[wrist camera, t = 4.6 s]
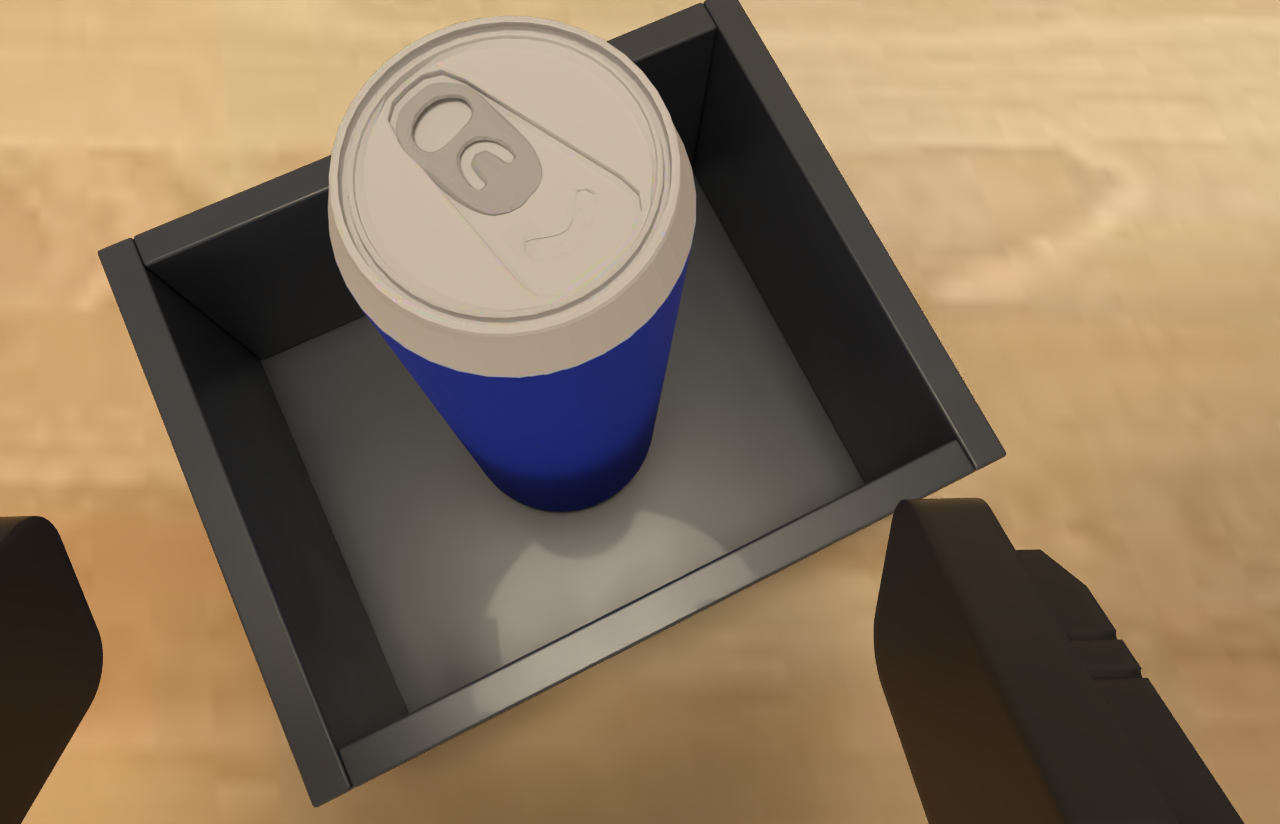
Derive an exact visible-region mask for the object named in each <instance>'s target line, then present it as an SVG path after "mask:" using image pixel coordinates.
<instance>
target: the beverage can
mask: <svg viewBox="0 0 1280 824" xmlns="http://www.w3.org/2000/svg"><path fill="white" fill-rule="evenodd" d="M328 219H329V235H330V239H331V243H332V247H333V252H334V256H335V260H336V263H337V265H338V267H339V270H340V272H341V274H342V277H343V279H344V281H345V284H346V286H347V288H348V289H349V291H350V292H351V294H352V295H353V297H354V298H355V300H356V301H357V303H358V304H359V306H360V307H361V309H362V310H363V312H364V313H365V314H366V316H367V317H368V318H369V320H370V321H371V322H372V324H373V325H374V326H375V328H376V329H377V330H378V332H379V333H380V334H381V336H382V337H383V338H384V340H385V341H386V342H387V344H388V345H389V346H390V348H391V349H392V350H393V352H394V353H395V354H396V356H397V357H398V358H399V360H400V361H401V362H402V364H403V365H404V366H405V368H406V369H407V370H408V372H409V373H410V374H411V376H412V377H413V378H414V380H415V381H416V382H417V384H418V385H419V386H420V388H421V389H422V390H423V392H424V393H425V394H426V396H427V397H428V398H429V400H430V401H431V402H432V404H433V405H434V406H435V408H436V409H437V410H438V412H439V413H440V414H441V416H442V417H443V418H444V420H445V421H446V422H447V424H448V425H449V426H450V428H451V429H452V430H453V432H454V433H455V434H456V436H457V437H458V438H459V440H460V441H461V442H462V444H463V445H464V446H465V448H466V449H467V450H468V452H469V453H470V454H471V456H472V457H473V458H474V460H475V461H476V462H477V464H478V465H479V466H480V468H481V469H482V470H483V472H484V473H485V474H486V476H487V477H488V478H489V479H490V480H491V481H492V482H493V483H494V485H495V486H496V487H497V488H498V489H500V490H501V491H502V492H504V493H505V494H506V495H507V496H509V497H511V498H512V499H514V500H516V501H518V502H520V503H521V504H524V505H527V506H530V507H533V508H535V509H540V510H546V511H557V512H567V511H575V510H581V509H584V508H588V507H591V506H594V505H596V504H599V503H601V502H603V501H605V500H607V499H609V498H610V497H612V496H613V495H615V494H616V493H618V492H619V491H620V490H621V489H622V488H623V487H625V486H626V485H627V484H628V483H629V482H630V481H631V480H632V478H633V477H634V476H635V474H636V473H637V472H638V470H639V469H640V467H641V465H642V464H643V462H644V460H645V458H646V456H647V453H648V450H649V447H650V445H651V441H652V436H653V431H654V426H655V421H656V416H657V411H658V406H659V402H660V397H661V392H662V387H663V382H664V377H665V372H666V368H667V363H668V358H669V353H670V348H671V343H672V338H673V334H674V329H675V324H676V319H677V314H678V309H679V304H680V299H681V295H682V290H683V285H684V280H685V275H686V270H687V265H688V261H689V256H690V251H691V246H692V240H693V235H694V229H695V224H696V190H695V184H694V178H693V172H692V167H691V164H690V162H689V159H688V156H687V153H686V150H685V147H684V144H683V142H682V140H681V138H680V136H679V134H678V132H677V130H676V128H675V126H674V124H673V122H672V119H671V116H670V114H669V112H668V110H667V108H666V106H665V104H664V102H663V101H662V99H661V97H660V95H659V93H658V91H657V90H656V88H655V87H654V86H653V84H652V83H651V82H650V81H649V79H648V78H647V77H646V75H645V74H644V73H643V71H642V70H641V69H640V68H638V67H637V66H636V65H635V64H634V63H633V62H632V61H631V60H630V59H629V58H628V57H627V56H626V55H625V54H623V53H622V52H621V51H619V50H618V49H616V48H615V47H613V46H612V45H610V44H609V43H607V42H606V41H605V40H603V39H601V38H599V37H597V36H595V35H593V34H591V33H589V32H587V31H584V30H582V29H580V28H577V27H574V26H571V25H568V24H565V23H561V22H558V21H554V20H548V19H543V18H537V17H531V16H496V17H486V18H477V19H473V20H469V21H465V22H461V23H457V24H453V25H450V26H448V27H445V28H443V29H440V30H437V31H435V32H432V33H430V34H427V35H426V36H424V37H422V38H420V39H419V40H417V41H415V42H413V43H412V44H410V45H408V46H406V47H405V48H403V49H402V50H401V51H399V52H398V53H397V54H395V55H394V56H393V57H392V58H390V59H389V60H388V61H386V62H385V63H384V64H383V65H382V66H381V67H380V68H379V69H378V70H377V71H376V72H375V73H374V74H373V75H372V76H371V77H370V78H369V79H368V80H367V81H366V83H365V84H364V85H363V87H362V88H361V90H360V91H359V93H358V94H357V95H356V97H355V98H354V100H353V101H352V102H351V104H350V106H349V108H348V110H347V112H346V114H345V116H344V118H343V120H342V122H341V124H340V126H339V129H338V132H337V136H336V139H335V142H334V146H333V149H332V153H331V161H330V170H329V196H328Z"/></svg>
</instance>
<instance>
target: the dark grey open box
mask: <svg viewBox="0 0 1280 824" xmlns="http://www.w3.org/2000/svg"><path fill="white" fill-rule="evenodd" d="M607 43H609V44H610V45H612V46H613V47H615V48H616V49H618V50H619V51H621V52H622V53H623V54H625V55H626V56H627V57H628V58H629V59H630V60H631V61H632V62H633V63H634V64H635V65H636V66H637V67H638V68H640V69H641V70H642V71H643V73H644V74H645V75H646V77H647V78H648V79H649V81H650V82H651V83H652V84H653V86H654V87H655V88H656V90H657V91H658V93H659V95H660V97H661V99H662V101H663V102H664V104H665V106H666V108H667V110H668V112H669V114H670V116H671V119H672V122H673V124H674V126H675V128H676V130H677V132H678V134H679V136H680V138H681V140H682V142H683V144H684V147H685V150H686V153H687V156H688V159H689V162H690V164H691V167H692V172H693V178H694V184H695V190H696V224H695V229H694V235H693V240H692V246H691V251H690V256H689V261H688V265H687V270H686V275H685V280H684V285H683V290H682V295H681V299H680V304H679V309H678V314H677V319H676V324H675V329H674V334H673V338H672V343H671V348H670V353H669V358H668V363H667V368H666V372H665V377H664V382H663V387H662V392H661V397H660V402H659V406H658V411H657V416H656V421H655V426H654V431H653V436H652V441H651V445H650V447H649V450H648V453H647V456H646V458H645V460H644V462H643V464H642V465H641V467H640V469H639V470H638V472H637V473H636V474H635V476H634V477H633V478H632V480H631V481H630V482H629V483H628V484H627V485H626V486H625V487H623V488H622V489H621V490H620V491H619V492H618V493H616V494H615V495H613V496H612V497H610V498H609V499H607V500H605V501H603V502H601V503H599V504H596V505H594V506H591V507H588V508H584V509H581V510H575V511H567V512H557V511H546V510H540V509H535V508H533V507H530V506H527V505H524V504H521V503H520V502H518V501H516V500H514V499H512V498H511V497H509V496H507V495H506V494H505V493H504V492H502V491H501V490H500V489H498V488H497V487H496V486H495V485H494V483H493V482H492V481H491V480H490V479H489V478H488V477H487V476H486V474H485V473H484V472H483V470H482V469H481V468H480V466H479V465H478V464H477V462H476V461H475V460H474V458H473V457H472V456H471V454H470V453H469V452H468V450H467V449H466V448H465V446H464V445H463V444H462V442H461V441H460V440H459V438H458V437H457V436H456V434H455V433H454V432H453V430H452V429H451V428H450V426H449V425H448V424H447V422H446V421H445V420H444V418H443V417H442V416H441V414H440V413H439V412H438V410H437V409H436V408H435V406H434V405H433V404H432V402H431V401H430V400H429V398H428V397H427V396H426V394H425V393H424V392H423V390H422V389H421V388H420V386H419V385H418V384H417V382H416V381H415V380H414V378H413V377H412V376H411V374H410V373H409V372H408V370H407V369H406V368H405V366H404V365H403V364H402V362H401V361H400V360H399V358H398V357H397V356H396V354H395V353H394V352H393V350H392V349H391V348H390V346H389V345H388V344H387V342H386V341H385V340H384V338H383V337H382V336H381V334H380V333H379V332H378V330H377V329H376V328H375V326H374V325H373V324H372V322H371V321H370V320H369V318H368V317H367V316H366V314H365V313H364V312H363V310H362V309H361V307H360V306H359V304H358V303H357V301H356V300H355V298H354V297H353V295H352V294H351V292H350V291H349V289H348V288H347V286H346V284H345V281H344V279H343V277H342V274H341V272H340V270H339V267H338V265H337V263H336V260H335V256H334V252H333V247H332V243H331V239H330V235H329V219H328V196H329V170H330V161H331V155H330V156H328V157H325V158H323V159H320V160H318V161H315V162H313V163H311V164H308V165H306V166H303V167H301V168H298V169H296V170H294V171H291V172H289V173H286V174H284V175H281V176H279V177H277V178H274V179H272V180H269V181H267V182H264V183H262V184H260V185H257V186H255V187H252V188H250V189H248V190H245V191H243V192H240V193H238V194H235V195H233V196H231V197H228V198H226V199H223V200H221V201H218V202H216V203H214V204H211V205H209V206H206V207H204V208H201V209H199V210H197V211H194V212H192V213H189V214H187V215H184V216H182V217H180V218H177V219H175V220H172V221H170V222H167V223H165V224H163V225H160V226H158V227H155V228H153V229H150V230H148V231H146V232H143V233H141V234H138V235H136V236H135V237H134V239H133V238H128V239H126V240H123V241H121V242H118V243H116V244H113V245H111V246H109V247H106V248H104V249H101V250H99V251H98V256H99V258H100V261H101V263H102V266H103V268H104V271H105V274H106V276H107V279H108V281H109V284H110V286H111V289H112V292H113V294H114V297H115V299H116V302H117V304H118V307H119V309H120V312H121V315H122V317H123V320H124V322H125V325H126V327H127V330H128V333H129V335H130V338H131V340H132V343H133V345H134V348H135V351H136V353H137V356H138V358H139V361H140V363H141V366H142V368H143V371H144V374H145V376H146V379H147V381H148V384H149V386H150V389H151V392H152V394H153V397H154V399H155V402H156V404H157V407H158V410H159V412H160V415H161V417H162V420H163V422H164V425H165V428H166V430H167V433H168V435H169V438H170V440H171V443H172V445H173V448H174V451H175V453H176V456H177V458H178V461H179V463H180V466H181V469H182V471H183V474H184V476H185V479H186V481H187V484H188V487H189V489H190V492H191V494H192V497H193V499H194V502H195V505H196V507H197V510H198V512H199V515H200V517H201V520H202V522H203V525H204V528H205V530H206V533H207V535H208V538H209V540H210V543H211V546H212V548H213V551H214V553H215V556H216V558H217V561H218V564H219V566H220V569H221V571H222V574H223V576H224V579H225V582H226V584H227V587H228V589H229V592H230V594H231V597H232V599H233V602H234V605H235V607H236V610H237V612H238V615H239V617H240V620H241V623H242V625H243V628H244V630H245V633H246V635H247V638H248V641H249V643H250V646H251V648H252V651H253V653H254V656H255V659H256V661H257V664H258V666H259V669H260V671H261V674H262V676H263V679H264V682H265V684H266V687H267V689H268V692H269V694H270V697H271V700H272V702H273V705H274V707H275V710H276V712H277V715H278V718H279V720H280V723H281V725H282V728H283V730H284V733H285V736H286V738H287V741H288V743H289V746H290V748H291V751H292V753H293V756H294V759H295V761H296V764H297V766H298V769H299V771H300V774H301V777H302V779H303V782H304V784H305V787H306V789H307V792H308V795H309V797H310V800H311V802H312V805H313V806H314V807H319V806H321V805H323V804H325V803H327V802H329V801H331V800H333V799H335V798H337V797H339V796H341V795H343V794H345V793H347V792H348V791H350V790H352V789H354V788H356V787H358V786H360V785H362V784H364V783H366V782H368V781H370V780H372V779H374V778H376V777H378V776H380V775H382V774H384V773H386V772H388V771H390V770H392V769H394V768H396V767H397V766H399V765H401V764H403V763H405V762H407V761H409V760H411V759H413V758H415V757H417V756H419V755H421V754H423V753H425V752H427V751H429V750H431V749H433V748H435V747H437V746H439V745H441V744H443V743H444V742H446V741H448V740H450V739H452V738H454V737H456V736H458V735H460V734H462V733H464V732H466V731H468V730H470V729H472V728H474V727H476V726H478V725H480V724H482V723H484V722H486V721H488V720H490V719H491V718H493V717H495V716H497V715H499V714H501V713H503V712H505V711H507V710H509V709H511V708H513V707H515V706H517V705H519V704H521V703H523V702H525V701H527V700H529V699H531V698H533V697H535V696H537V695H538V694H540V693H542V692H544V691H546V690H548V689H550V688H552V687H554V686H556V685H558V684H560V683H562V682H564V681H566V680H568V679H570V678H572V677H574V676H576V675H578V674H580V673H582V672H584V671H586V670H587V669H589V668H591V667H593V666H595V665H597V664H599V663H601V662H603V661H605V660H607V659H609V658H611V657H613V656H615V655H617V654H619V653H621V652H623V651H625V650H627V649H629V648H631V647H633V646H634V645H636V644H638V643H640V642H642V641H644V640H646V639H648V638H650V637H652V636H654V635H656V634H658V633H660V632H662V631H664V630H666V629H668V628H670V627H672V626H674V625H676V624H678V623H680V622H681V621H683V620H685V619H687V618H689V617H691V616H693V615H695V614H697V613H699V612H701V611H703V610H705V609H707V608H709V607H711V606H713V605H715V604H717V603H719V602H721V601H723V600H725V599H727V598H728V597H730V596H732V595H734V594H736V593H738V592H740V591H742V590H744V589H746V588H748V587H750V586H752V585H754V584H756V583H758V582H760V581H762V580H764V579H766V578H768V577H770V576H772V575H774V574H776V573H777V572H779V571H781V570H783V569H785V568H787V567H789V566H791V565H793V564H795V563H797V562H799V561H801V560H803V559H805V558H807V557H809V556H811V555H813V554H815V553H817V552H819V551H821V550H823V549H824V548H826V547H828V546H830V545H832V544H834V543H836V542H838V541H840V540H842V539H844V538H846V537H848V536H850V535H852V534H854V533H856V532H858V531H860V530H862V529H864V528H866V527H868V526H870V525H871V524H873V523H875V522H877V521H879V520H881V519H883V518H885V517H887V516H889V515H891V514H893V513H894V511H895V508H896V506H897V504H898V503H899V502H900V501H901V500H903V499H922V498H924V497H926V496H928V495H930V494H932V493H934V492H936V491H938V490H940V489H942V488H944V487H946V486H948V485H950V484H952V483H954V482H956V481H958V480H960V479H962V478H964V477H966V476H967V475H969V474H971V473H973V472H975V471H977V470H979V469H981V468H983V467H985V466H987V465H989V464H991V463H993V462H995V461H997V460H999V459H1001V458H1003V457H1005V455H1006V452H1005V450H1004V448H1003V447H1002V445H1001V443H1000V441H999V440H998V438H997V436H996V435H995V433H994V431H993V430H992V428H991V426H990V425H989V423H988V421H987V420H986V418H985V416H984V414H983V413H982V411H981V409H980V408H979V406H978V404H977V403H976V401H975V399H974V398H973V396H972V394H971V393H970V391H969V389H968V387H967V386H966V384H965V382H964V381H963V379H962V377H961V376H960V374H959V372H958V371H957V369H956V367H955V365H954V364H953V362H952V360H951V359H950V357H949V355H948V354H947V352H946V350H945V349H944V347H943V345H942V344H941V342H940V340H939V338H938V337H937V335H936V333H935V332H934V330H933V328H932V327H931V325H930V323H929V322H928V320H927V318H926V317H925V315H924V313H923V311H922V310H921V308H920V306H919V305H918V303H917V301H916V300H915V298H914V296H913V295H912V293H911V291H910V290H909V288H908V286H907V284H906V283H905V281H904V279H903V278H902V276H901V274H900V273H899V271H898V269H897V268H896V266H895V264H894V262H893V261H892V259H891V257H890V256H889V254H888V252H887V251H886V249H885V247H884V246H883V244H882V242H881V241H880V239H879V237H878V235H877V234H876V232H875V230H874V229H873V227H872V225H871V224H870V222H869V220H868V219H867V217H866V215H865V214H864V212H863V210H862V208H861V207H860V205H859V203H858V202H857V200H856V198H855V197H854V195H853V193H852V192H851V190H850V188H849V186H848V185H847V183H846V181H845V180H844V178H843V176H842V175H841V173H840V171H839V170H838V168H837V166H836V165H835V163H834V161H833V159H832V158H831V156H830V154H829V153H828V151H827V149H826V148H825V146H824V144H823V143H822V141H821V139H820V138H819V136H818V134H817V132H816V131H815V129H814V127H813V126H812V124H811V122H810V121H809V119H808V117H807V116H806V114H805V112H804V111H803V109H802V107H801V105H800V104H799V102H798V100H797V99H796V97H795V95H794V94H793V92H792V90H791V89H790V87H789V85H788V83H787V82H786V80H785V78H784V77H783V75H782V73H781V72H780V70H779V68H778V67H777V65H776V63H775V62H774V60H773V58H772V56H771V55H770V53H769V51H768V50H767V48H766V46H765V45H764V43H763V41H762V40H761V38H760V36H759V35H758V33H757V31H756V29H755V28H754V26H753V24H752V23H751V21H750V19H749V18H748V16H747V14H746V13H745V11H744V9H743V7H742V6H741V4H740V2H739V1H738V0H706V1H704V3H699V4H696V5H694V6H691V7H689V8H687V9H684V10H682V11H679V12H677V13H674V14H672V15H670V16H667V17H665V18H662V19H660V20H658V21H655V22H653V23H650V24H648V25H645V26H643V27H641V28H638V29H636V30H633V31H631V32H628V33H626V34H624V35H621V36H619V37H616V38H614V39H611V40H609V41H607Z"/></svg>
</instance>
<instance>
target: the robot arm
mask: <svg viewBox="0 0 1280 824" xmlns="http://www.w3.org/2000/svg"><path fill="white" fill-rule="evenodd" d="M874 650H875V659H876V665H877V670H878V675H879V679H880V682H881V685H882V688H883V691H884V694H885V697H886V700H887V703H888V706H889V709H890V711H891V714H892V717H893V720H894V723H895V726H896V729H897V732H898V735H899V738H900V741H901V744H902V747H903V750H904V752H905V755H906V758H907V761H908V764H909V767H910V770H911V773H912V776H913V779H914V782H915V785H916V788H917V790H918V793H919V796H920V799H921V802H922V805H923V808H924V811H925V814H926V817H927V820H928V823H929V824H1244V822H1243V821H1242V819H1241V818H1240V816H1239V815H1238V813H1237V812H1236V810H1235V809H1234V807H1233V806H1232V804H1231V803H1230V801H1229V800H1228V798H1227V797H1226V795H1225V794H1224V792H1223V791H1222V789H1221V788H1220V786H1219V785H1218V783H1217V782H1216V780H1215V779H1214V777H1213V776H1212V774H1211V773H1210V771H1209V770H1208V768H1207V767H1206V765H1205V764H1204V762H1203V761H1202V759H1201V758H1200V756H1199V755H1198V753H1197V751H1196V750H1195V748H1194V747H1193V745H1192V744H1191V742H1190V741H1189V739H1188V738H1187V736H1186V735H1185V733H1184V732H1183V730H1182V729H1181V727H1180V726H1179V724H1178V723H1177V721H1176V720H1175V718H1174V717H1173V715H1172V714H1171V712H1170V711H1169V709H1168V708H1167V706H1166V705H1165V703H1164V702H1163V700H1162V699H1161V697H1160V696H1159V694H1158V693H1157V691H1156V690H1155V688H1154V687H1153V685H1152V684H1151V682H1150V681H1149V679H1148V678H1142V676H1141V667H1140V666H1139V664H1138V663H1137V661H1136V660H1135V658H1134V657H1133V655H1132V654H1131V652H1130V651H1129V649H1128V648H1127V646H1126V645H1125V643H1124V642H1123V640H1117V638H1116V630H1115V628H1114V627H1113V625H1112V624H1111V622H1110V621H1109V619H1108V618H1107V616H1106V615H1105V613H1104V612H1103V610H1102V609H1101V607H1100V606H1099V604H1098V603H1097V601H1096V600H1095V598H1094V597H1093V595H1092V594H1091V592H1090V591H1089V589H1088V588H1087V586H1086V585H1084V584H1083V583H1082V582H1081V581H1079V580H1078V579H1077V578H1076V577H1074V576H1073V575H1072V574H1070V573H1069V572H1068V571H1067V570H1065V569H1064V568H1063V567H1062V566H1060V565H1059V564H1058V563H1057V562H1055V561H1054V560H1053V559H1052V558H1050V557H1049V556H1048V555H1047V554H1045V553H1044V552H1043V551H1041V550H1015V549H1014V547H1013V545H1012V544H1011V542H1010V540H1009V539H1008V537H1007V535H1006V534H1005V532H1004V530H1003V528H1002V527H1001V525H1000V523H999V522H998V520H997V518H996V517H995V515H994V513H993V512H992V510H991V508H990V507H989V506H988V504H987V503H986V502H985V501H984V500H982V499H980V498H946V499H903V500H901V501H900V502H899V503H898V504H897V506H896V508H895V511H894V514H893V518H892V523H891V529H890V534H889V540H888V545H887V551H886V556H885V562H884V568H883V573H882V579H881V584H880V590H879V595H878V601H877V606H876V612H875V619H874ZM102 665H103V650H102V642H101V637H100V634H99V631H98V629H97V626H96V624H95V621H94V619H93V616H92V614H91V611H90V609H89V606H88V604H87V602H86V599H85V597H84V594H83V592H82V589H81V587H80V584H79V582H78V579H77V577H76V574H75V572H74V569H73V567H72V564H71V562H70V559H69V557H68V555H67V552H66V550H65V547H64V545H63V542H62V540H61V537H60V535H59V533H58V531H57V529H56V528H55V527H54V525H53V524H52V523H51V522H50V521H48V520H47V519H45V518H43V517H39V516H18V517H0V824H21V823H22V821H23V819H24V817H25V816H26V814H27V812H28V811H29V809H30V807H31V806H32V804H33V802H34V800H35V799H36V797H37V795H38V794H39V792H40V790H41V789H42V787H43V785H44V783H45V782H46V780H47V778H48V777H49V775H50V773H51V772H52V770H53V768H54V766H55V765H56V763H57V761H58V760H59V758H60V756H61V754H62V753H63V751H64V749H65V748H66V746H67V744H68V743H69V741H70V739H71V737H72V736H73V734H74V732H75V731H76V729H77V727H78V726H79V724H80V722H81V720H82V719H83V717H84V715H85V714H86V712H87V710H88V709H89V707H90V705H91V703H92V701H93V699H94V697H95V695H96V692H97V690H98V686H99V683H100V678H101V673H102Z"/></svg>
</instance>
